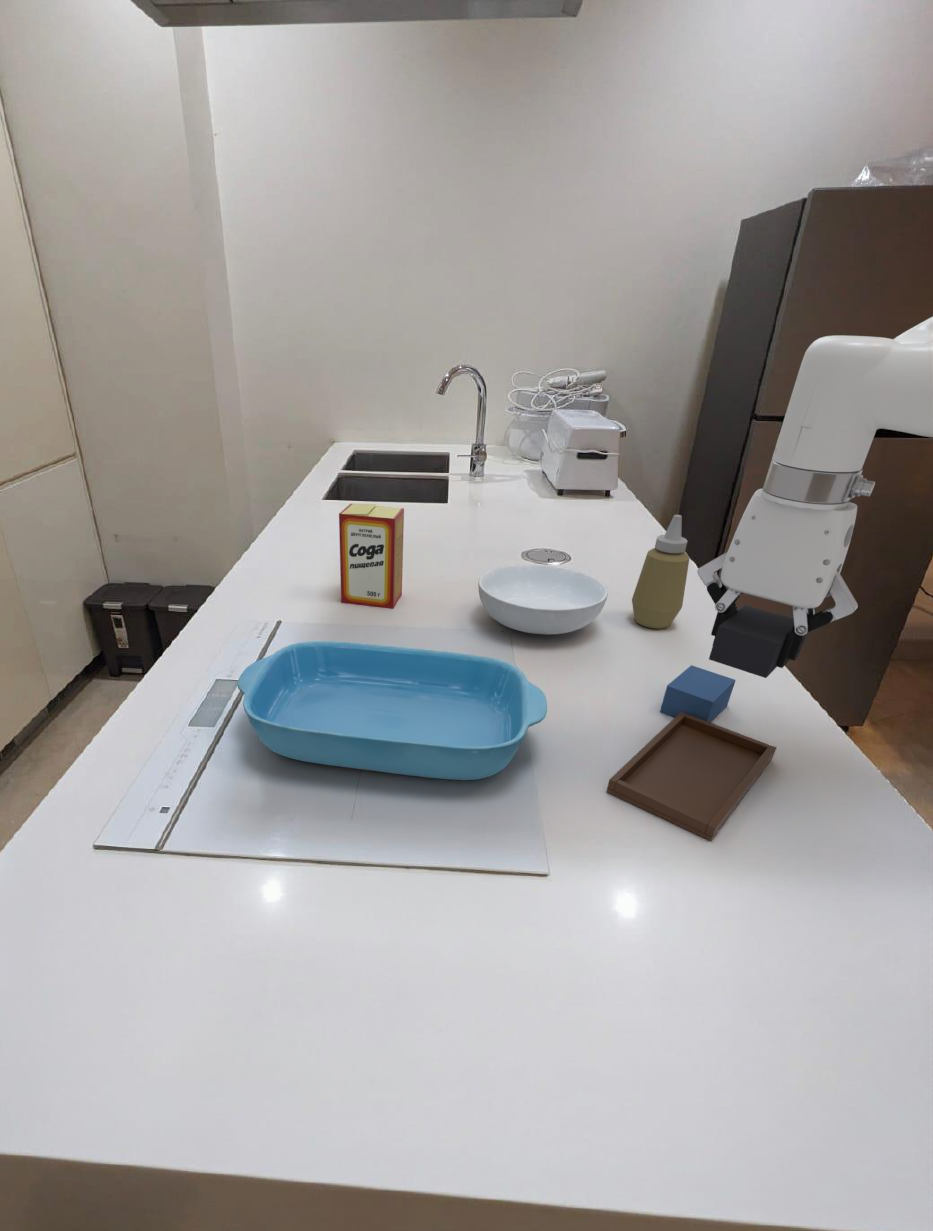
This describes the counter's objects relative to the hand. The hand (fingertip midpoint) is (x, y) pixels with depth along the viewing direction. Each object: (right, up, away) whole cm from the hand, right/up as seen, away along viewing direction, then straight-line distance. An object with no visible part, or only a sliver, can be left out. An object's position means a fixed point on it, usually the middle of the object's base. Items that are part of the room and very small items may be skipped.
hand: (751, 651), depth 74 cm
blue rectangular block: (+1, -6, +16) cm, 18 cm away
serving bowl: (-15, +9, +39) cm, 43 cm away
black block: (0, -1, 0) cm, 1 cm away
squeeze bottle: (+5, +9, +40) cm, 42 cm away
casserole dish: (-40, -9, +10) cm, 42 cm away
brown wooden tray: (-5, -14, +4) cm, 15 cm away
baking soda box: (-43, +14, +47) cm, 65 cm away
